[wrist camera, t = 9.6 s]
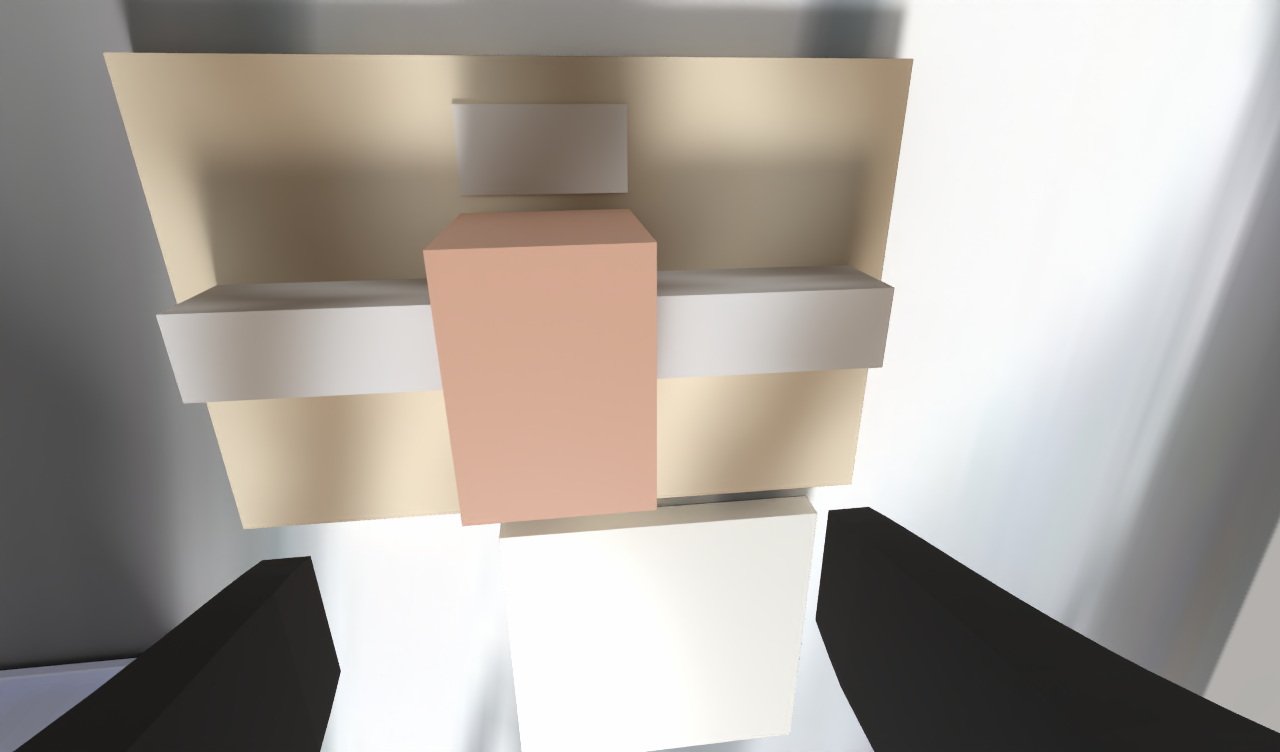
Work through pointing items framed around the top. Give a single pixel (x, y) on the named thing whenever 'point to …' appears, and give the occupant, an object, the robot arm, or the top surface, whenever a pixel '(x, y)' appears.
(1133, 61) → the top surface
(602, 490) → the peach rectangular block
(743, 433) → the beige flat block
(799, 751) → the top surface
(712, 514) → the white square plate
